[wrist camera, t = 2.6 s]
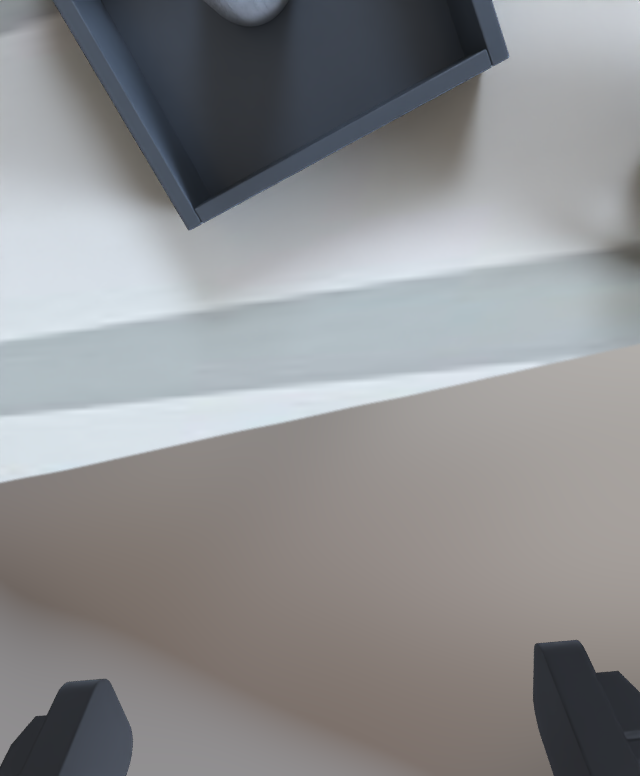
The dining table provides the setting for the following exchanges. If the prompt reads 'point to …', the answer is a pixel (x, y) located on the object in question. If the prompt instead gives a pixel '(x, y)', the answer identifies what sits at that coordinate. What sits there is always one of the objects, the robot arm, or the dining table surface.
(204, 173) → the dark grey open tray
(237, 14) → the white and black tumbler
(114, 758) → the robot arm
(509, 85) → the dining table surface
